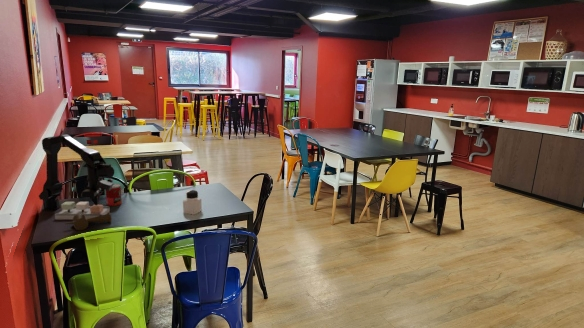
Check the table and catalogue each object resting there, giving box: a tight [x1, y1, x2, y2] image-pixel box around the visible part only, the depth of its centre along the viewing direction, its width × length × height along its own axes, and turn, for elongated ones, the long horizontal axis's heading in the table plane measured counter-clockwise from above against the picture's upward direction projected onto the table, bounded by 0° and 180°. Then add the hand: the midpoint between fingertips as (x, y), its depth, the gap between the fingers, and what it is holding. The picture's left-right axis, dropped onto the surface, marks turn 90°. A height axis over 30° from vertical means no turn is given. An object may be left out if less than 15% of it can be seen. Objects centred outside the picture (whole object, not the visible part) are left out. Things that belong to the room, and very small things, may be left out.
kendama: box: [64, 212, 113, 231], centre depth 184 cm, size 6×10×20 cm
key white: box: [75, 201, 90, 210], centre depth 196 cm, size 5×5×3 cm
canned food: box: [105, 183, 123, 207], centre depth 214 cm, size 8×8×11 cm
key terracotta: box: [90, 204, 104, 213], centre depth 197 cm, size 5×5×3 cm
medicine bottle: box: [182, 189, 203, 216], centre depth 205 cm, size 7×7×12 cm
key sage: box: [60, 201, 76, 211], centre depth 196 cm, size 5×5×3 cm
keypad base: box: [54, 205, 111, 220], centre depth 197 cm, size 22×12×4 cm, turn 95°
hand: (96, 205), depth 197 cm, fingers closed
